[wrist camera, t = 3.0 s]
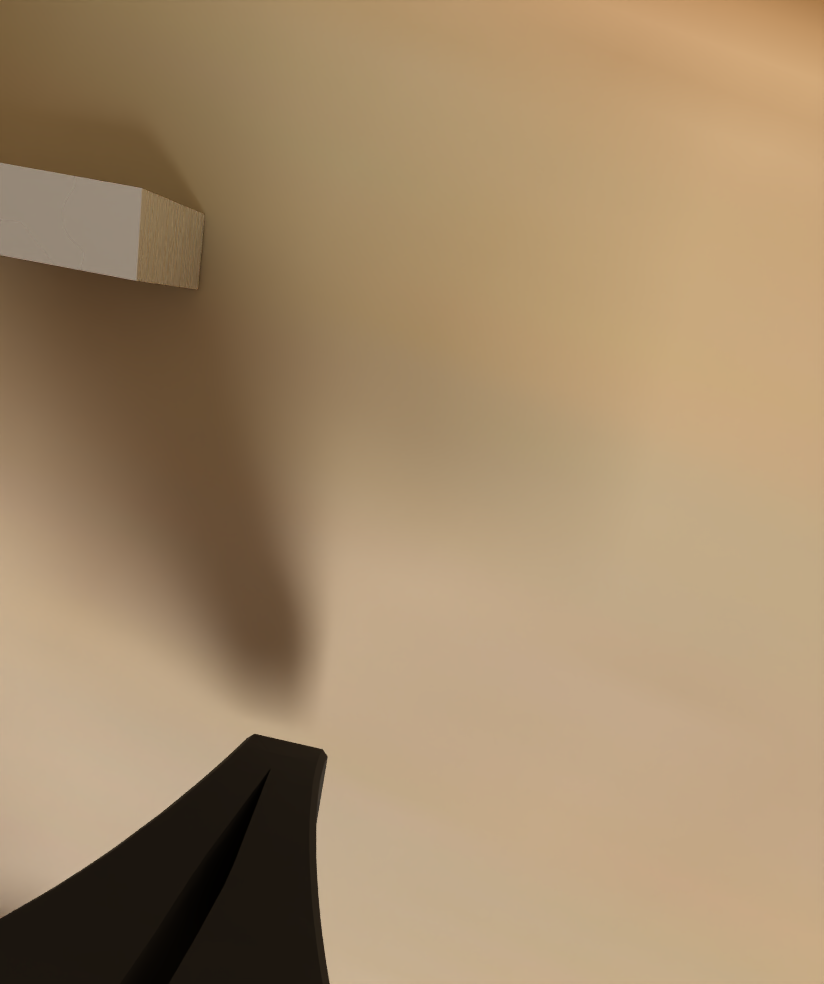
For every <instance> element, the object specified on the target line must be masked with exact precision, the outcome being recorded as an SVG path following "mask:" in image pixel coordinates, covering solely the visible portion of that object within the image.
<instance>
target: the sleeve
mask: <svg viewBox="0 0 824 984" xmlns="http://www.w3.org/2000/svg"><path fill="white" fill-rule="evenodd" d="M204 217H205V214H203V213H201V212H198V211H196V210H193V209H191V208H189V207H186V206H184V205H181V204H179V203H177V202H174V201H172V200H169V199H167V198H165V197H162V196H160V195H157V194H155V193H153V192H150V191H148V190H146V189H143V188H139V187H133V186H128V185H122V184H117V183H111V182H105V181H100V180H94V179H89V178H83V177H77V176H72V175H66V174H61V173H55V172H50V171H44V170H38V169H33V168H27V167H22V166H16V165H11V164H5V163H0V255H2V256H7V257H12V258H18V259H23V260H28V261H34V262H39V263H44V264H50V265H55V266H60V267H66V268H71V269H76V270H82V271H87V272H92V273H98V274H103V275H108V276H113V277H119V278H124V279H129V280H135V281H141V282H148V283H155V284H162V285H169V286H176V287H183V288H190V289H197V290H198V286H199V274H200V263H201V251H202V240H203V228H204Z"/></svg>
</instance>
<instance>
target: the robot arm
mask: <svg viewBox="0 0 824 984" xmlns="http://www.w3.org/2000/svg"><path fill="white" fill-rule="evenodd" d="M327 758H328V757H327V755H326V754H325V752H324V751H323V749H319V748H314V747H310V746H306V745H301V744H297V743H292V742H288V741H284V740H279V739H275V738H270V737H266V736H262V735H257V734H253V735H252V736H250V737H248V738H247V739H246V740H245V741H244V742H243V743H242V744H241V745H240V746H239V747H237V748H236V749H235V750H234V751H233V752H232V753H231V754H230V755H229V756H228V757H227V758H226V759H224V760H223V761H222V762H221V763H220V764H219V765H218V766H217V767H216V768H214V769H213V770H212V771H211V772H210V773H209V774H208V775H206V776H205V777H204V778H203V779H202V780H201V781H200V782H198V783H197V784H196V785H195V786H193V787H192V788H191V789H190V790H189V791H187V792H186V793H185V794H184V795H183V796H181V797H180V798H179V799H178V800H176V801H175V802H174V803H173V804H172V805H170V806H169V807H168V808H167V809H165V810H164V811H163V812H162V813H160V814H159V815H158V816H157V817H155V818H154V819H153V820H151V821H150V822H148V823H147V824H146V825H144V826H143V827H142V828H140V829H139V830H138V831H136V832H135V833H134V834H132V835H131V836H130V837H128V838H127V839H126V840H124V841H123V842H121V843H120V844H119V845H117V846H116V847H115V848H113V849H112V850H110V851H109V852H107V853H106V854H105V855H103V856H102V857H100V858H99V859H97V860H96V861H94V862H93V863H91V864H90V865H88V866H87V867H85V868H84V869H82V870H81V871H79V872H78V873H76V874H74V875H73V876H71V877H70V878H68V879H67V880H65V881H63V882H62V883H60V884H59V885H57V886H55V887H54V888H52V889H51V890H49V891H47V892H46V893H44V894H42V895H41V896H39V897H37V898H35V899H34V900H32V901H30V902H28V903H27V904H25V905H23V906H21V907H20V908H18V909H16V910H15V911H13V912H11V913H9V914H8V915H6V916H4V917H2V918H1V919H0V984H330V983H329V977H328V971H327V965H326V959H325V952H324V944H323V937H322V929H321V920H320V909H319V898H318V883H317V864H316V823H317V817H318V811H319V805H320V799H321V793H322V787H323V781H324V775H325V769H326V763H327Z"/></svg>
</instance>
